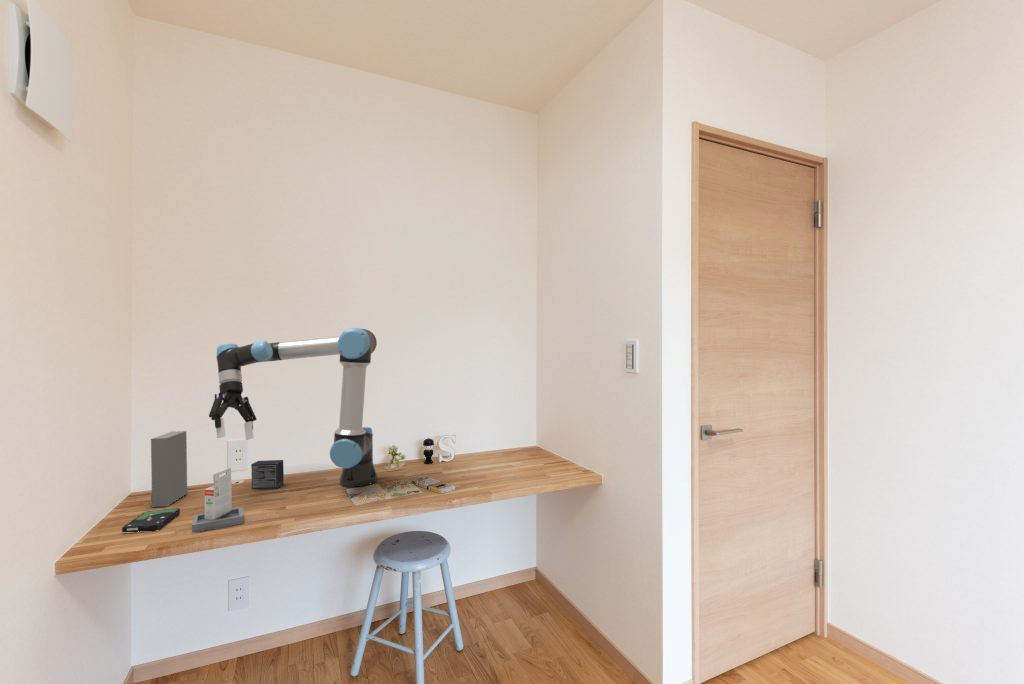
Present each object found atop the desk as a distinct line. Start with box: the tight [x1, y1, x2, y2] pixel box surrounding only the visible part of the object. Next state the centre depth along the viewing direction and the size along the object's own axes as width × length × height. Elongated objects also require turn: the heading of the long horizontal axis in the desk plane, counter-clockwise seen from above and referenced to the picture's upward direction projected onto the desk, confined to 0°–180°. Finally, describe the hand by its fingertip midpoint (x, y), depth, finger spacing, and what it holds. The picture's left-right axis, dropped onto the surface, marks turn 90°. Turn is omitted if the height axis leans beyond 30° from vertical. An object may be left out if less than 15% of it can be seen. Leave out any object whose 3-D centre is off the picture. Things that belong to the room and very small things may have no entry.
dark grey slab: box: [149, 430, 189, 508], centre depth 175 cm, size 14×6×25 cm, turn 9°
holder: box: [191, 506, 244, 534], centre depth 153 cm, size 14×10×2 cm
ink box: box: [204, 468, 233, 520], centre depth 153 cm, size 4×8×15 cm, turn 172°
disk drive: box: [121, 507, 181, 533], centre depth 154 cm, size 10×3×15 cm
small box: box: [250, 459, 285, 490], centre depth 191 cm, size 11×6×10 cm, turn 94°
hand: (235, 438), depth 171 cm, fingers open, 13 cm apart
